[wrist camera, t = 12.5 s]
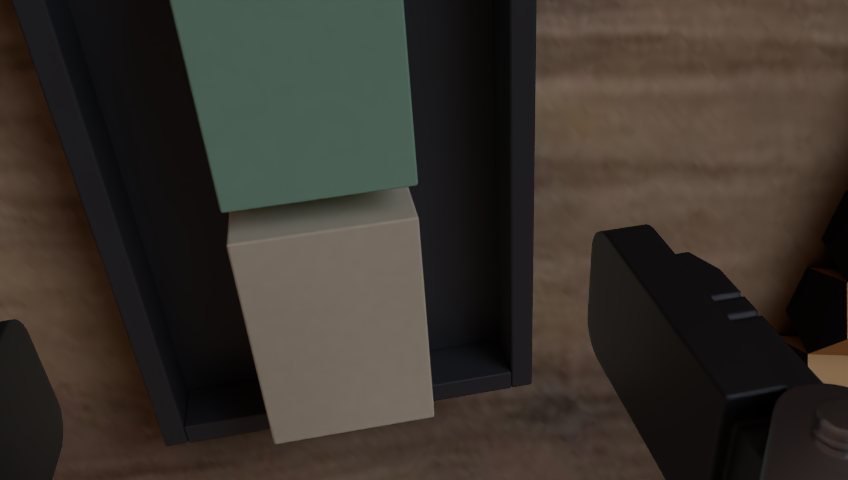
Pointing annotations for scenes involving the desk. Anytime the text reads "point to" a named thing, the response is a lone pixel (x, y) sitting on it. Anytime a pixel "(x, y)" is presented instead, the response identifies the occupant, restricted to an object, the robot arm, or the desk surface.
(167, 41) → the tray
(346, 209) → the beige pad
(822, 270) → the pan flute
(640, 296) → the robot arm
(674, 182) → the desk surface
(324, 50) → the sage pad
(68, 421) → the desk surface
